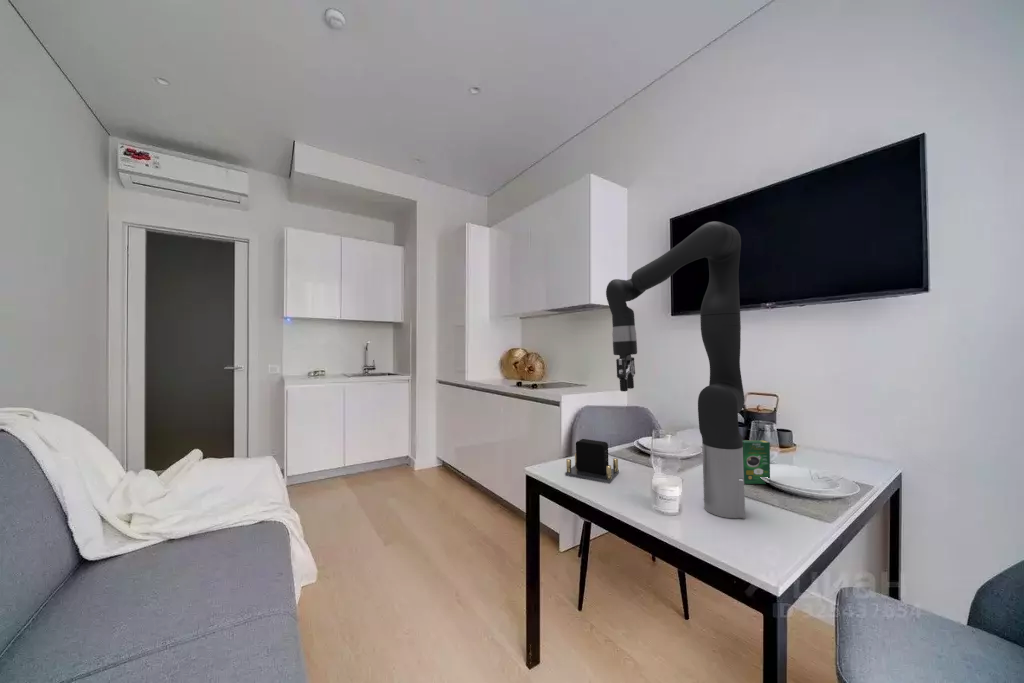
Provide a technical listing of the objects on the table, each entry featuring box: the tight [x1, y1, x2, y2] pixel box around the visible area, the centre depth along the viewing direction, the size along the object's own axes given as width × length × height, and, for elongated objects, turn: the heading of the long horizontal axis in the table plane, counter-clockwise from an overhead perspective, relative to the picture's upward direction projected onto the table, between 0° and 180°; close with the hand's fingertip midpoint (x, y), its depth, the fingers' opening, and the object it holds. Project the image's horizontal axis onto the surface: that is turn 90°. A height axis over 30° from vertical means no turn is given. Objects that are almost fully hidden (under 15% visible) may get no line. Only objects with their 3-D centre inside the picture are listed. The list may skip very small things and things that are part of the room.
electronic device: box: [575, 438, 610, 475], centre depth 125 cm, size 4×10×10 cm, turn 55°
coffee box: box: [743, 439, 771, 485], centre depth 114 cm, size 8×3×13 cm, turn 87°
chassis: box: [565, 452, 620, 484], centre depth 124 cm, size 15×11×5 cm
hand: (627, 389), depth 119 cm, fingers open, 8 cm apart
